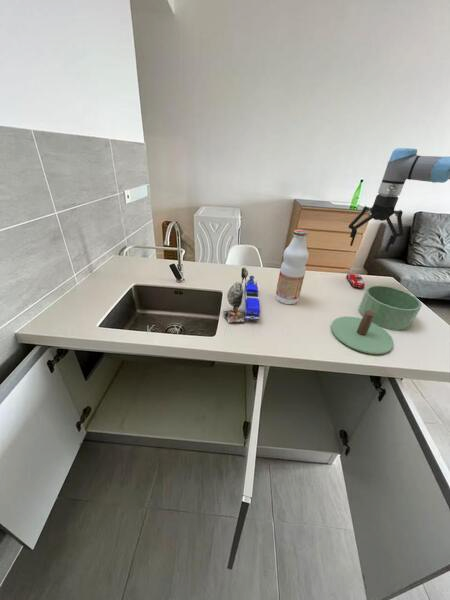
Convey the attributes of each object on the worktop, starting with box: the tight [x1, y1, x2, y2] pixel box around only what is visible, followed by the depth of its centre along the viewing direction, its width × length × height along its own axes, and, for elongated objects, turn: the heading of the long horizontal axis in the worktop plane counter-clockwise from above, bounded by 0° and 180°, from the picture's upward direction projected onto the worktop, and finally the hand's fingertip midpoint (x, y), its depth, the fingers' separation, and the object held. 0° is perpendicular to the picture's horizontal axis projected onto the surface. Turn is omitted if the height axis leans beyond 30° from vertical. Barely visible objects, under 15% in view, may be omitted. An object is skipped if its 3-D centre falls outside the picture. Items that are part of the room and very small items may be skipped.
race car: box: [346, 272, 366, 289], centre depth 115 cm, size 13×5×4 cm, turn 170°
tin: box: [358, 284, 423, 331], centre depth 91 cm, size 18×18×8 cm
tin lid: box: [331, 311, 394, 355], centre depth 79 cm, size 19×19×9 cm
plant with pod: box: [222, 267, 249, 324], centre depth 83 cm, size 8×11×20 cm
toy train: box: [244, 275, 261, 321], centre depth 93 cm, size 5×25×8 cm, turn 177°
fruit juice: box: [275, 229, 310, 305], centre depth 93 cm, size 9×9×28 cm
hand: (368, 248), depth 105 cm, fingers open, 13 cm apart
